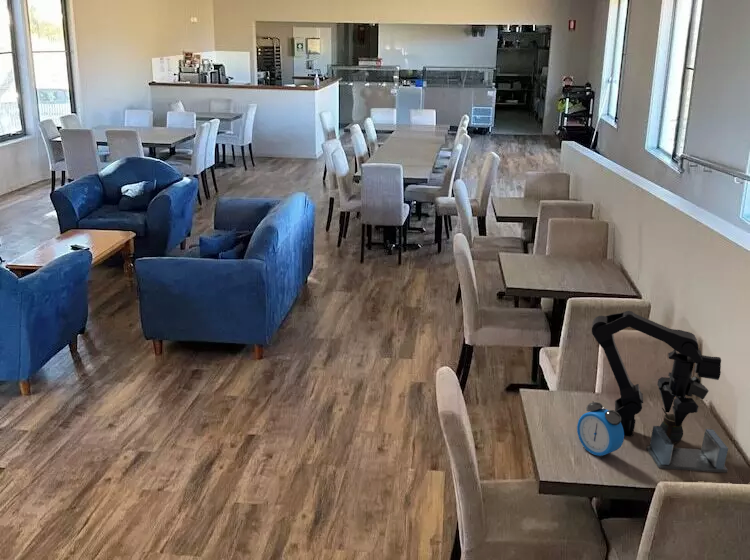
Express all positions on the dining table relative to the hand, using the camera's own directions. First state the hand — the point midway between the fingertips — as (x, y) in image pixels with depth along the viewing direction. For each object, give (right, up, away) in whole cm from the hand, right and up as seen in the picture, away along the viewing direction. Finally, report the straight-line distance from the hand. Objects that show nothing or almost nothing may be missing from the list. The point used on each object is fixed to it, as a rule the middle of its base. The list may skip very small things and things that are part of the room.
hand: (672, 419), depth 234 cm
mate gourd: (0, -7, +2) cm, 8 cm away
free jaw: (-7, -9, -10) cm, 15 cm away
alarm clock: (-25, -9, -7) cm, 28 cm away
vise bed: (0, -11, -9) cm, 14 cm away
